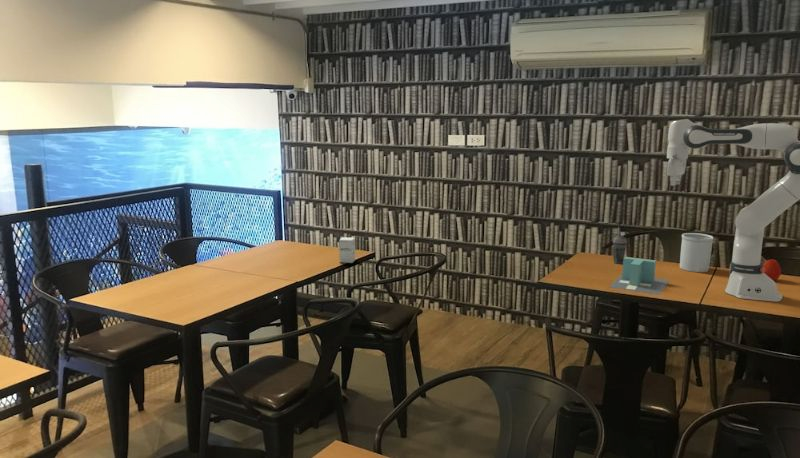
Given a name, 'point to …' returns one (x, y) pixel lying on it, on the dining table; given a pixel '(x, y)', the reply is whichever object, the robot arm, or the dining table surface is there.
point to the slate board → (641, 285)
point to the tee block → (638, 270)
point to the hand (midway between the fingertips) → (675, 185)
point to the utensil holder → (695, 252)
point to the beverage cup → (619, 248)
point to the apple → (772, 269)
